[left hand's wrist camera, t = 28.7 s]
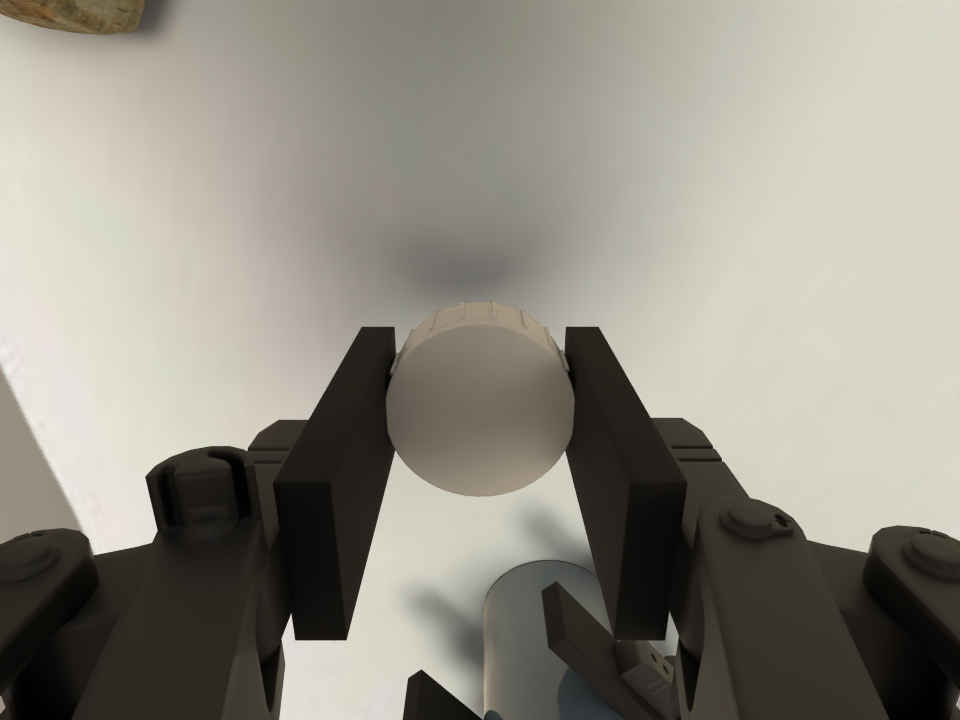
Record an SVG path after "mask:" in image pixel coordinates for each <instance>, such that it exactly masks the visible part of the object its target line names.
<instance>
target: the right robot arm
mask: <svg viewBox="0 0 960 720" xmlns="http://www.w3.org/2000/svg"><path fill="white" fill-rule="evenodd" d="M541 593H542V602H543V610H544V618H545V626H546V634H547V642H548V648H549V649H550V650H552V651H553V652H554V653H555V654H556V655H557V656H558V657H559V658H560V659H561V660H562V661H564V662H565V663H566V664H567V665H568V666H569V667H570V668H571V669H572V670H573V671H574V672H575V673H577V674H578V675H579V676H580V677H581V678H582V679H583V680H584V681H585V682H586V683H587V684H589V685H590V686H591V687H592V688H593V689H594V690H595V691H596V692H597V693H598V694H599V695H601V696H602V697H603V698H604V699H605V700H606V701H607V702H608V703H609V704H610V705H611V706H613V707H614V708H615V709H616V710H617V711H618V712H619V713H620V714H621V715H622V716H623V717H624V718H626V719H627V720H681V714H680V705H679V696H678V701H677V704H671V703H669V698H670V691H671V685H672V678H673V672H674V666H675V659H676V656H666V657H663V656H662V655H661V654H660V653H658V651H657V650H656V649H655V648H654V647H652V645H651V644H650V643H649V642H648V641H647V640H620V641H618V640H614V638H613V635H612V634H611V633H610V632H609V631H607V630H606V629H605V628H604V627H603V626H602V625H601V624H600V623H599V622H598V621H597V620H596V619H595V618H594V617H593V616H592V615H591V614H590V613H589V612H588V611H587V610H586V609H585V608H584V607H583V606H582V605H581V604H580V603H579V602H578V601H577V600H576V599H575V598H574V597H573V596H572V595H571V594H569V593H568V592H567V591H566V590H565V589H564V588H563V587H562V586H561V585H560V584H559V583H558V582H557V581H555V582H554V583H552V584H551V585H549V586H548V587H546V588H545V589H543V590H542V591H541ZM403 720H482V719H481V718H480V717H479V716H477V715H476V714H475V713H474V712H472V711H471V710H470V709H469V708H468V707H466V706H465V705H464V704H463V703H462V702H460V701H459V700H458V699H457V698H455V697H454V696H453V695H452V694H451V693H449V692H448V691H447V690H446V689H445V688H443V687H442V686H441V685H440V684H438V683H437V682H436V681H435V680H434V679H432V678H431V677H430V676H429V675H428V674H426V673H425V672H424V671H423V670H422V669H421V670H420V671H418V672H417V673H415V674H414V675H412V676H411V677H409V678H408V684H407V691H406V699H405V707H404V714H403Z"/></svg>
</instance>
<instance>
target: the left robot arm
mask: <svg viewBox="0 0 960 720" xmlns="http://www.w3.org/2000/svg"><path fill="white" fill-rule="evenodd" d="M564 355H565V358H566V361H567V363H568V366H569V369H570V372H568V374H569V377H570V380H571V383H572V386H573V390H574V394H575V403H574V420H573V433H572V436H571V440H570V442H569V444H568V446H567V448H566V450H565V451H566V455H567V459H568V463H569V467H570V471H571V475H572V479H573V483H574V486H575V490H576V494H577V498H578V502H579V506H580V510H581V514H582V518H583V521H584V525H585V529H586V533H587V537H588V541H589V545H590V549H591V553H592V557H593V560H594V564H595V568H596V572H597V576H598V580H599V584H600V588H601V592H602V596H603V599H604V603H605V607H606V611H607V615H608V619H609V623H610V627H611V631H612V634H613V638H614V640H665V637H666V630H667V623H668V616H669V611H670V613H671V616H672V618H673V621H674V624H675V626H676V629H677V631H678V634H679V640H678V646H677V653H676V659H675V666H674V672H673V678H672V685H671V691H670V698H669V703H671V704H677V701H678V696H679V705H680V714H681V720H960V710H959V709H958V708H957V706H956V703H957V701H958V698H959V696H960V541H958V540H956V539H954V538H951V537H949V536H948V535H946V534H944V533H941V532H938V531H935V530H933V531H931V530H930V529H926V528H921V527H910V526H892V527H886V528H882V529H880V530H879V531H878V532H877V533H875V534H874V535H873V537H872V541H871V544H870V548H869V551H868V553H865V552H860V551H855V550H850V549H845V548H840V547H835V546H830V545H825V544H821V543H817V542H813V541H809V540H807V539H806V537H805V535H804V532H803V530H802V529H801V528H800V526H799V525H798V524H797V522H796V521H795V520H794V519H793V518H792V517H791V516H789V515H788V514H786V513H785V512H783V511H782V510H781V509H779V508H777V507H775V506H772V505H770V504H768V503H765V502H763V501H760V500H756V499H751V498H750V497H749V496H748V495H747V493H746V492H745V490H744V489H743V488H742V486H741V485H740V483H739V482H738V481H737V479H736V478H735V476H734V475H733V474H732V472H731V471H730V469H729V468H728V467H727V465H726V464H725V462H722V458H721V457H720V455H719V454H718V453H717V451H716V450H715V449H713V445H712V444H711V443H710V441H709V440H708V438H707V437H706V436H705V434H704V433H703V431H701V430H700V429H698V428H697V427H695V426H694V425H692V424H691V423H689V422H687V421H686V420H684V419H683V418H650V416H649V414H648V412H647V411H646V409H645V407H644V405H643V404H642V402H641V400H640V398H639V397H638V395H637V393H636V392H635V390H634V388H633V386H632V385H631V383H630V381H629V379H628V378H627V376H626V374H625V372H624V371H623V369H622V367H621V365H620V364H619V362H618V360H617V358H616V357H615V355H614V353H613V351H612V350H611V348H610V346H609V344H608V343H607V341H606V339H605V337H604V336H603V334H602V332H601V330H600V329H599V327H566V335H565V353H564ZM395 357H396V346H395V327H361V329H360V331H359V333H358V334H357V336H356V338H355V340H354V342H353V343H352V345H351V347H350V349H349V350H348V352H347V354H346V356H345V357H344V359H343V361H342V363H341V364H340V366H339V368H338V370H337V371H336V373H335V375H334V377H333V378H332V380H331V382H330V384H329V385H328V387H327V389H326V391H325V392H324V394H323V396H322V398H321V399H320V401H319V403H318V405H317V406H316V408H315V410H314V412H313V413H312V415H311V417H310V419H309V420H278V421H276V422H275V423H273V424H272V425H270V426H269V427H267V428H265V429H264V430H262V431H261V432H259V433H258V435H257V436H256V437H255V439H254V440H253V442H252V443H251V444H250V446H249V447H248V451H245V450H243V449H239V448H235V447H231V446H210V447H204V448H198V449H193V450H189V451H186V452H183V453H180V454H178V455H175V456H172V457H170V458H168V459H166V460H165V461H163V462H161V463H160V464H158V465H156V466H155V467H154V468H153V469H152V470H151V471H150V472H149V473H148V474H147V475H146V477H145V478H146V482H147V486H148V491H149V495H150V499H151V503H152V508H153V512H154V516H155V521H156V525H157V529H158V531H157V534H156V536H155V538H154V540H153V542H152V543H150V544H146V545H142V546H139V547H134V548H129V549H124V550H119V551H114V552H109V553H104V554H99V555H94V556H93V553H92V549H91V546H90V542H89V539H88V538H87V537H86V536H85V535H84V534H82V533H81V532H80V531H77V530H71V529H65V528H60V529H49V530H39V531H34V532H31V533H30V534H29V533H26V534H23V535H20V536H17V537H15V538H13V539H12V540H9V541H7V542H5V543H3V544H0V696H1V697H2V699H3V702H4V704H5V707H6V708H5V709H4V710H3V712H2V713H1V714H0V720H279V715H280V706H281V697H282V688H283V679H284V671H285V659H284V653H283V646H282V640H281V638H282V636H283V633H284V630H285V628H286V625H287V623H288V620H289V617H290V615H291V613H292V620H293V627H294V634H295V640H347V636H348V632H349V628H350V624H351V620H352V617H353V613H354V609H355V605H356V601H357V597H358V593H359V589H360V585H361V581H362V578H363V574H364V570H365V566H366V562H367V558H368V554H369V550H370V546H371V543H372V539H373V535H374V531H375V527H376V523H377V519H378V515H379V511H380V507H381V504H382V500H383V496H384V492H385V488H386V484H387V480H388V476H389V472H390V468H391V465H392V461H393V457H394V453H395V448H394V446H393V445H392V442H391V440H390V437H389V435H388V428H387V413H386V393H387V388H388V386H389V383H390V380H391V377H392V376H391V375H389V374H390V371H391V368H392V365H393V362H394V360H395Z"/></svg>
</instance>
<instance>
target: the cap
mask: <svg viewBox="0 0 960 720" xmlns="http://www.w3.org/2000/svg"><path fill="white" fill-rule="evenodd" d="M568 372H570V369H569V366H568V363H567V361H566V358H565V355H564V352H563V350H559V348H558V346H557V344H556V343H555V341H554V339H553V338H552V336H551V335H550V333H549V330H548V328H547V327H543V326H542V325H540V324H539V323H538V322H537V321H536V320H534V319H533V318H531V317H530V316H529V315H527V314H525V311H524V310H522V309H521V311H519V310H517V309H514V308H512V307H509V306H506V305H501V304H497V303H496V301H492V303H489V302H471V303H465V301H463V302H461V304H459V305H455V306H452V307H449V308H446V309H444V310H442V311H439V312H437V311H435V312H433V315H432V316H431V317H429V318H428V319H426V320H425V321H424V322H423V323H421V324H420V325H419V326H418V327H417V328H416V329H415V330H414V329H412V330H411V331H410V334H409V337H408V339H407V340H406V342H405V344H404V346H403V347H402V349H401V351H400V353H397V354H396V357H395V360H394V362H393V365H392V368H391V371H390V374H389V375H391V376H392V377H391V380H390V383H389V386H388V388H387V393H386V413H387V428H388V435H389V437H390V440H391V442H392V445H393V446H394V448H395V450H396V452H397V453H398V455H399V456H400V458H401V459H402V460H403V461H404V463H405V464H406V465H407V466H408V467H409V468H410V469H411V470H412V471H413V472H414V473H415V474H417V475H418V476H419V477H421V478H422V479H423V480H425V481H427V482H428V483H430V484H432V485H434V486H436V487H438V488H440V489H443V490H446V491H449V492H452V493H456V494H461V495H466V496H494V495H501V494H505V493H509V492H512V491H515V490H518V489H520V488H523V487H525V486H527V485H529V484H531V483H533V482H534V481H536V480H537V479H539V478H540V477H542V476H543V475H544V474H545V473H546V472H548V471H549V470H550V469H551V468H552V467H553V466H554V465H555V463H556V462H557V461H558V460H559V459H560V457H561V456H562V454H563V453H564V451H565V450H566V448H567V446H568V444H569V442H570V440H571V436H572V433H573V420H574V403H575V394H574V390H573V386H572V383H571V380H570V377H569V374H568Z"/></svg>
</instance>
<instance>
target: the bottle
mask: <svg viewBox="0 0 960 720" xmlns="http://www.w3.org/2000/svg"><path fill="white" fill-rule="evenodd" d="M555 581H557V582H558V583H559V584H560V585H561V586H562V587H563V588H564V589H565V590H566V591H567V592H568V593H569V594H571V595H572V596H573V597H574V598H575V599H576V600H577V601H578V602H579V603H580V604H581V605H582V606H583V607H584V608H585V609H586V610H587V611H588V612H589V613H590V614H591V615H592V616H593V617H594V618H595V619H596V620H597V621H598V622H599V623H600V624H601V625H602V626H603V627H604V628H605V629H606V630H607V631H609V632H610V633H611V634H612V631H611V627H610V623H609V619H608V615H607V611H606V607H605V603H604V599H603V596H602V592H601V588H600V584H599V580H598V579H597V578H596V577H595V576H594V575H592V574H591V573H590V572H588V571H587V570H585V569H583V568H581V567H579V566H576V565H573V564H570V563H566V562H561V561H538V562H533V563H528V564H525V565H522V566H519V567H517V568H515V569H513V570H511V571H509V572H508V573H506V574H505V575H503V576H502V577H501V578H500V579H499V580H498V581H497V582H496V583H495V584H494V585H493V587H492V588H491V589H490V591H489V593H488V595H487V597H486V600H485V603H484V720H627V719H626V718H624V717H623V716H622V715H621V714H620V713H619V712H618V711H617V710H616V709H615V708H614V707H613V706H611V705H610V704H609V703H608V702H607V701H606V700H605V699H604V698H603V697H602V696H601V695H599V694H598V693H597V692H596V691H595V690H594V689H593V688H592V687H591V686H590V685H589V684H587V683H586V682H585V681H584V680H583V679H582V678H581V677H580V676H579V675H578V674H577V673H575V672H574V671H573V670H572V669H571V668H570V667H569V666H568V665H567V664H566V663H565V662H564V661H562V660H561V659H560V658H559V657H558V656H557V655H556V654H555V653H554V652H553V651H552V650H550V649H549V648H548V642H547V634H546V626H545V618H544V610H543V602H542V593H541V591H542V590H543V589H545V588H546V587H548V586H549V585H551V584H552V583H554V582H555ZM612 635H613V634H612ZM618 641H620V640H618Z"/></svg>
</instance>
